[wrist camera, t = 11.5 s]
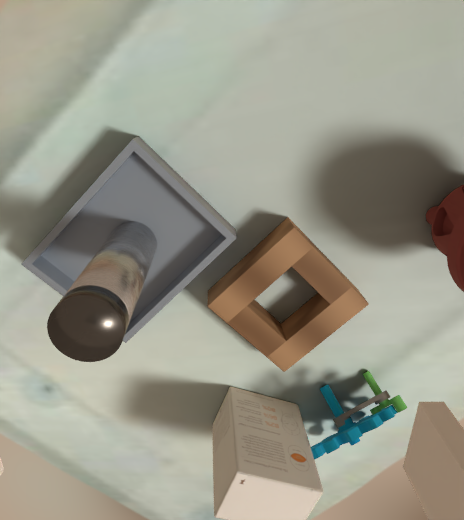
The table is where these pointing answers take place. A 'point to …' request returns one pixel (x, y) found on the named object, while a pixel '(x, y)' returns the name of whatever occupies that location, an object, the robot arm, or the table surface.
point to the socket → (306, 317)
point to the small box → (262, 460)
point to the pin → (104, 295)
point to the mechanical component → (450, 232)
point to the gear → (354, 430)
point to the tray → (146, 212)
